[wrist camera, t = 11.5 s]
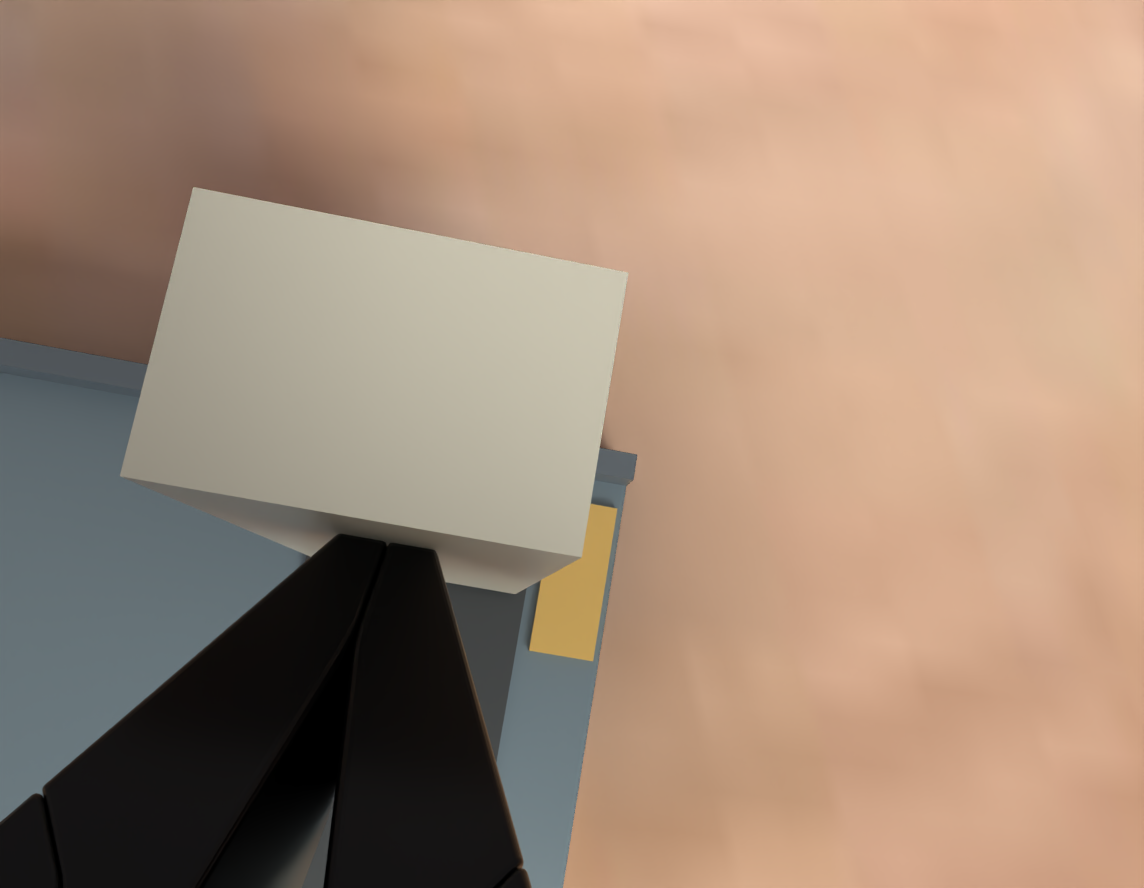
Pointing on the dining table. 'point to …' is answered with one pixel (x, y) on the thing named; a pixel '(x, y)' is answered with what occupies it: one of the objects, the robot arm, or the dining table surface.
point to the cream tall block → (379, 388)
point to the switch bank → (238, 601)
